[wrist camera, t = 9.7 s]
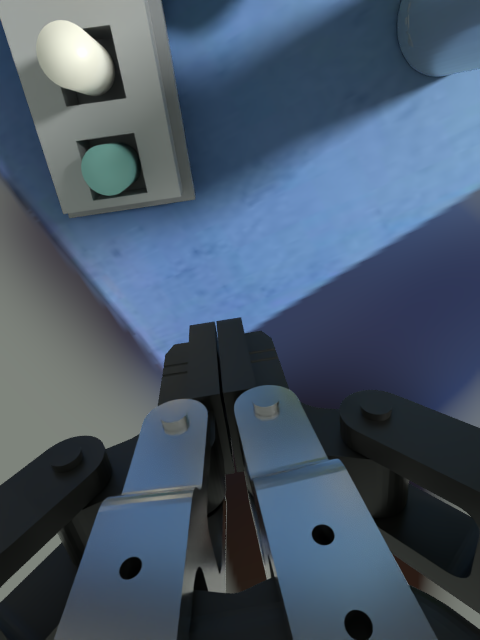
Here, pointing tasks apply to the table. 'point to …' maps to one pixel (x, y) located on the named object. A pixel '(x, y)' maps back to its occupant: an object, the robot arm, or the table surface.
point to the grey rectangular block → (106, 101)
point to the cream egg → (74, 59)
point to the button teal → (110, 168)
